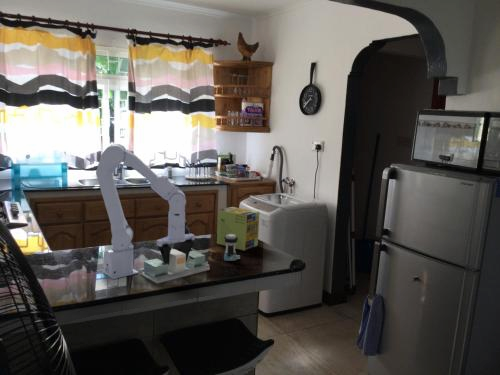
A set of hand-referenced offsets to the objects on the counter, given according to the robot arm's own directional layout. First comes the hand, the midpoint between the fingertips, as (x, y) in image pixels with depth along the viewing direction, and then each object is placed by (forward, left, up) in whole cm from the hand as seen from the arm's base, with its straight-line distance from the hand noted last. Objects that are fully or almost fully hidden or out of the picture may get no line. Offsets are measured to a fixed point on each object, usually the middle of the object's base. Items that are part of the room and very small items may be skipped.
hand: (175, 262), depth 147 cm
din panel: (0, 0, -3) cm, 3 cm away
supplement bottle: (+17, +21, -4) cm, 27 cm away
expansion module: (0, 0, -2) cm, 2 cm away
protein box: (+41, +12, -4) cm, 43 cm away
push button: (+25, -2, -4) cm, 25 cm away
